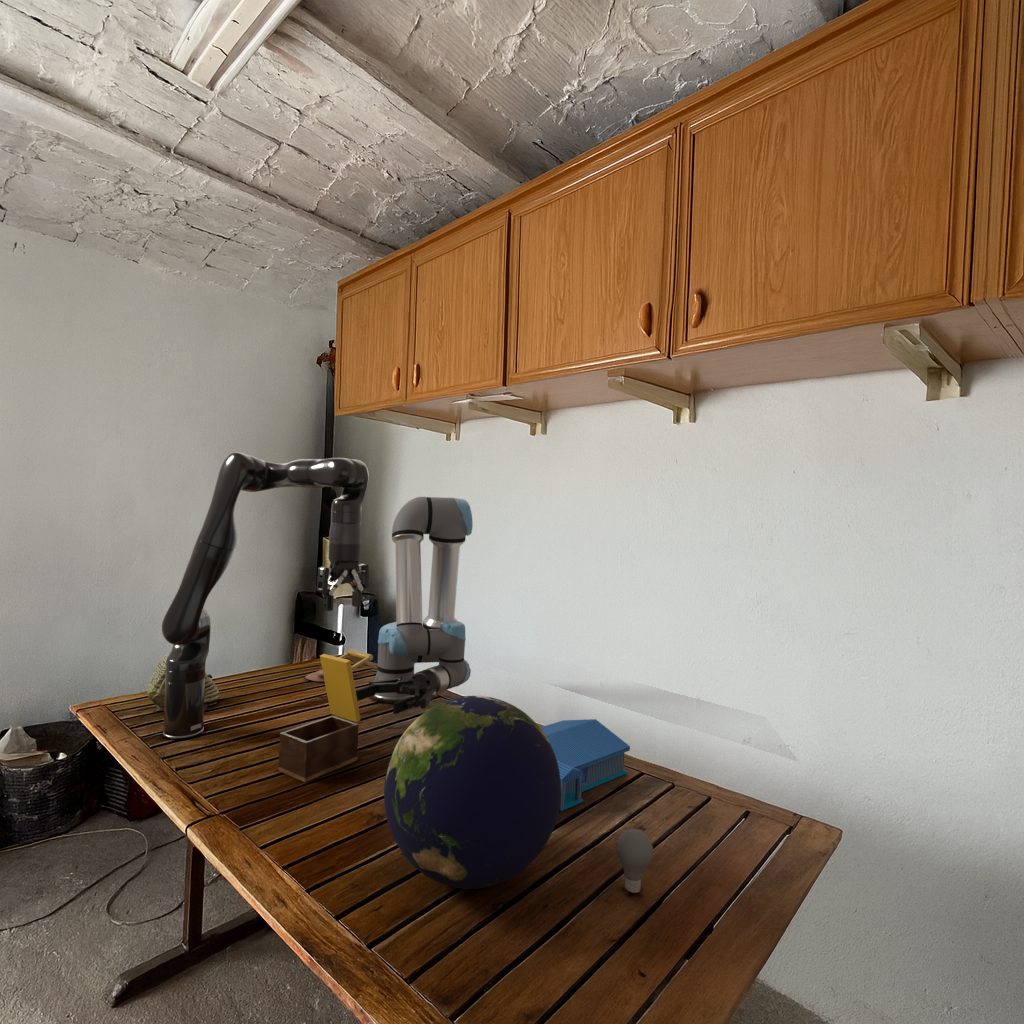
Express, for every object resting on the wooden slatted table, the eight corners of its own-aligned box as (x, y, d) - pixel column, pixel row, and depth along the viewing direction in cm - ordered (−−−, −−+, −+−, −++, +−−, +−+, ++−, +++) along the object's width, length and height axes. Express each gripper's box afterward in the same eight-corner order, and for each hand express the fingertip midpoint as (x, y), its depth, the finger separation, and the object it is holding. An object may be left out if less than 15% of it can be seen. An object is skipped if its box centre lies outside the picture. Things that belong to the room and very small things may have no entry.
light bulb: (610, 879, 108) (613, 822, 108) (644, 879, 109) (647, 822, 109) (619, 902, 102) (622, 840, 102) (655, 901, 103) (658, 840, 103)
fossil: (144, 707, 182) (145, 655, 182) (212, 696, 194) (213, 647, 194) (151, 716, 175) (153, 662, 175) (221, 703, 188) (223, 653, 188)
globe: (343, 899, 100) (350, 710, 100) (435, 815, 128) (441, 667, 127) (518, 958, 89) (528, 746, 88) (578, 852, 117) (585, 690, 116)
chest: (305, 782, 140) (306, 743, 140) (278, 770, 145) (279, 732, 145) (357, 760, 153) (358, 724, 153) (331, 750, 158) (332, 715, 158)
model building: (516, 830, 123) (519, 779, 123) (442, 785, 141) (444, 740, 141) (638, 777, 150) (640, 735, 149) (562, 745, 168) (564, 707, 167)
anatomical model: (300, 668, 215) (317, 660, 226) (300, 679, 215) (317, 671, 226) (336, 672, 212) (352, 663, 224) (336, 683, 212) (351, 675, 224)
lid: (346, 662, 149) (373, 646, 156) (319, 655, 154) (347, 640, 161) (356, 722, 152) (383, 704, 159) (330, 714, 157) (357, 696, 165)
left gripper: (332, 543, 145) (329, 614, 145) (377, 541, 156) (375, 607, 157) (310, 541, 149) (308, 610, 149) (356, 539, 161) (354, 603, 161)
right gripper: (463, 705, 174) (410, 729, 156) (396, 685, 187) (341, 704, 169) (464, 679, 173) (411, 699, 155) (397, 660, 187) (342, 677, 169)
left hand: (342, 608), depth 153 cm, fingers open, 8 cm apart
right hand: (374, 702), depth 162 cm, fingers open, 13 cm apart
